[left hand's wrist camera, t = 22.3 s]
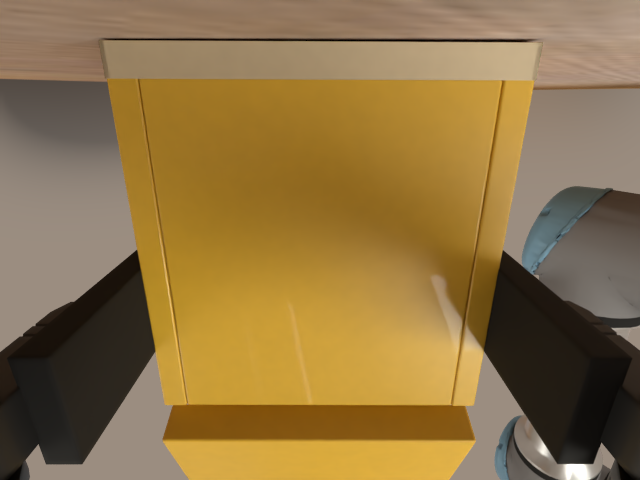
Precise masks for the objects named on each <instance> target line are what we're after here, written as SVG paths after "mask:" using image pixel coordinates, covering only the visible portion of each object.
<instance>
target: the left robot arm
mask: <svg viewBox="0 0 640 480" xmlns="http://www.w3.org/2000/svg"><path fill="white" fill-rule="evenodd" d="M484 352H485V353H486V355H487V356H488V358H489V359H490V361H491V363H492V364H493V366H494V367H495V369H496V370H497V372H498V373H499V375H500V376H501V378H502V380H503V381H504V383H505V384H506V386H507V387H508V389H509V390H510V392H511V393H512V395H513V397H514V398H515V400H516V401H517V403H518V404H519V406H520V407H521V409H522V410H523V412H524V414H525V415H526V417H527V418H528V420H529V421H530V423H531V424H532V426H533V427H534V429H535V431H536V432H537V434H538V435H539V437H540V438H541V440H542V441H543V443H544V444H545V446H546V448H547V449H548V451H549V452H550V454H551V455H552V457H553V458H554V460H555V461H556V463H557V464H594V461H595V458H596V456H597V453H598V450H599V447H600V445H601V442H602V443H603V445H604V446H605V447H606V448H607V450H608V451H609V452H610V453H611V454H612V456H613V457H614V458H615V461H614V463H613V466H612V468H611V471H610V473H609V476H608V478H607V480H640V350H638V349H637V348H636V347H635V346H633V345H632V344H631V343H630V342H628V341H627V340H626V339H624V338H623V337H622V336H621V335H617V332H616V331H614V330H613V329H612V328H611V327H609V326H608V325H604V322H603V321H602V320H600V319H599V318H598V317H597V316H595V315H594V314H593V313H592V312H590V311H589V310H587V309H585V308H583V307H581V306H579V305H577V304H575V303H573V302H571V301H563V300H562V299H561V298H560V297H559V296H557V295H556V294H555V293H554V292H553V291H551V290H550V289H549V288H548V287H547V286H545V285H544V284H543V283H542V282H541V281H539V280H538V279H537V278H536V277H534V276H533V275H532V274H531V273H530V272H529V271H527V270H526V269H525V268H524V267H523V266H521V265H520V264H519V263H518V262H517V261H515V260H514V259H513V258H512V257H511V256H509V255H508V254H507V253H506V252H505V251H502V257H501V262H500V267H499V270H498V276H497V281H496V287H495V292H494V298H493V303H492V309H491V314H490V320H489V325H488V331H487V336H486V342H485V347H484ZM154 353H155V345H154V340H153V334H152V329H151V323H150V318H149V312H148V307H147V301H146V295H145V290H144V284H143V279H142V273H141V268H140V262H139V257H138V251H137V250H136V251H135V252H134V253H133V254H131V255H130V256H129V257H128V258H127V259H125V260H124V261H123V262H122V263H121V264H119V265H118V266H117V267H116V268H115V269H113V270H112V271H111V272H110V273H109V274H107V275H106V276H105V277H104V278H103V279H101V280H100V281H99V282H98V283H97V284H95V285H94V286H93V287H92V288H91V289H89V290H88V291H87V292H86V293H85V294H83V295H82V296H81V297H80V298H78V299H77V300H76V301H75V302H70V303H68V304H66V305H64V306H62V307H60V308H58V309H56V310H54V311H52V312H50V313H49V314H48V315H46V316H45V317H44V318H43V319H41V320H40V321H39V322H38V323H36V326H33V327H31V328H30V329H29V330H27V331H26V332H25V333H24V334H23V337H19V338H17V339H16V340H15V341H14V342H12V343H11V344H10V345H9V346H7V347H6V348H5V349H4V350H2V351H1V352H0V480H29V478H30V475H29V468H28V466H27V463H26V461H25V460H26V459H27V457H28V456H29V455H30V454H31V452H32V451H33V450H34V449H35V448H36V446H37V445H38V444H39V446H40V449H41V452H42V454H43V457H44V460H45V463H46V464H83V462H84V461H85V459H86V458H87V456H88V454H89V453H90V451H91V450H92V448H93V447H94V445H95V444H96V442H97V441H98V439H99V438H100V436H101V434H102V433H103V431H104V430H105V428H106V427H107V425H108V424H109V422H110V420H111V419H112V417H113V416H114V414H115V413H116V411H117V410H118V408H119V407H120V405H121V404H122V402H123V400H124V399H125V397H126V396H127V394H128V393H129V391H130V390H131V388H132V387H133V385H134V384H135V382H136V380H137V379H138V377H139V376H140V374H141V373H142V371H143V370H144V368H145V367H146V365H147V363H148V362H149V360H150V359H151V357H152V356H153V354H154Z"/></svg>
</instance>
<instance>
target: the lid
mask: <svg viewBox="0 0 640 480" xmlns="http://www.w3.org/2000/svg"><path fill="white" fill-rule="evenodd" d="M475 441H476V440H475V436H474V433H473V430H472V426H471V423H470V420H469V416H468V413H467V410H466V407H465V406H453V405H173V407H172V410H171V413H170V417H169V420H168V423H167V426H166V430H165V433H164V436H163V442H164V444H165V445H166V447H167V448H168V450H169V451H170V453H171V454H172V456H173V457H174V459H175V460H176V461H177V463H178V464H179V466H180V467H181V469H182V470H183V472H184V473H185V475H186V476H187V477H188V479H189V480H449V479H450V478H451V476H452V475H453V473H454V472H455V470H456V469H457V468H458V466H459V465H460V463H461V462H462V461H463V459H464V458H465V456H466V455H467V453H468V452H469V450H470V449H471V448H472V446H473V445H474V443H475Z"/></svg>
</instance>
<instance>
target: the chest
mask: <svg viewBox="0 0 640 480" xmlns="http://www.w3.org/2000/svg"><path fill="white" fill-rule="evenodd" d="M99 46H100V52H101V58H102V63H103V69H104V74H105V78H106V79H107V82H108V88H109V93H110V99H111V104H112V110H113V116H114V121H115V127H116V133H117V138H118V144H119V150H120V155H121V161H122V166H123V172H124V178H125V183H126V189H127V194H128V200H129V206H130V212H131V217H132V223H133V228H134V234H135V240H136V245H137V251H138V257H139V262H140V268H141V273H142V279H143V284H144V290H145V295H146V301H147V307H148V312H149V318H150V323H151V329H152V334H153V340H154V345H155V352H156V358H157V364H158V369H159V375H160V380H161V386H162V392H163V398H164V403H165V405H186V404H187V403H188V404H189V405H450V404H452V405H453V406H473V405H474V401H475V396H476V390H477V385H478V380H479V375H480V369H481V364H482V358H483V353H484V347H485V342H486V336H487V331H488V325H489V320H490V314H491V309H492V303H493V298H494V292H495V287H496V281H497V276H498V270H499V267H500V262H501V257H502V251H503V246H504V241H505V235H506V230H507V225H508V219H509V214H510V208H511V203H512V198H513V192H514V187H515V182H516V176H517V171H518V166H519V160H520V155H521V150H522V144H523V139H524V133H525V128H526V123H527V117H528V112H529V107H530V101H531V96H532V91H533V85H534V81H535V80H536V78H537V72H538V67H539V62H540V56H541V51H542V46H543V42H368V41H167V40H99Z"/></svg>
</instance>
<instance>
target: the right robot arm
mask: <svg viewBox="0 0 640 480" xmlns="http://www.w3.org/2000/svg"><path fill="white" fill-rule="evenodd" d="M522 264H523V266H524V268H525V269H526V270H527V271H529V272H530V273H531V274H535V275H539V281H541V282H542V283H543V284H544V285H545V286H547V287H548V288H549V289H550V290H551V291H553V292H554V293H555V294H556V295H557V296H559V297H560V298H561V299H562V300H563V301H571V302H573V303H575V304H577V305H579V306H581V307H583V308H585V309H587V310H589V311H590V312H592V313H593V314H594V315H595V316H597V317H598V318H599V319H600V320H602V321H603V322H604V325H608V326H609V327H611V328H612V329H613V330H614V331H616V332H617V335H621V336H622V337H623V338H624V339H626V340H628V337H629V334H630V331H631V330H632V329H636V328H640V194H634V193H628V192H621V191H615V190H613V189H612V188H606V189H599V188H590V187H580V186H574V187H569V188H566V189H564V190H562V191H560V192H559V193H558V194H556V195H555V196H554V197H553V198H552V199H551V200H550V201H549V202H548V203H547V204H546V206H545V207H544V208H543V210H542V211H541V213H540V214H539V216H538V217H537V219H536V221H535V223H534V224H533V226H532V228H531V230H530V232H529V235H528V237H527V240H526V242H525V245H524V249H523V254H522ZM495 469H496V472H497V475H498V477H499V478H500V479H501V480H607V478H608V476H609V473H610V471H611V469H609V468H607V467H606V466H604V465H603V457H602V452H601V450H600V447H599V450H598V453H597V456H596V458H595V461H594V464H557V463H556V461H555V460H554V458H553V457H552V455H551V454H550V452H549V451H548V449H547V448H546V446H545V444H544V443H543V441H542V440H541V438H540V437H539V435H538V434H537V432H536V431H535V429H534V427H533V426H532V424H531V423H530V421H529V420H528V418H527V417H526V415H525V414H524V415H523V416H517V417H514V418H513V419H512V420H511V421H510V422H509V423H508V424H507V426H506V427H505V429H504V431H503V432H502V435H501V436H500V439H499V445H498V446H497V448H496V453H495Z"/></svg>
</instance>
